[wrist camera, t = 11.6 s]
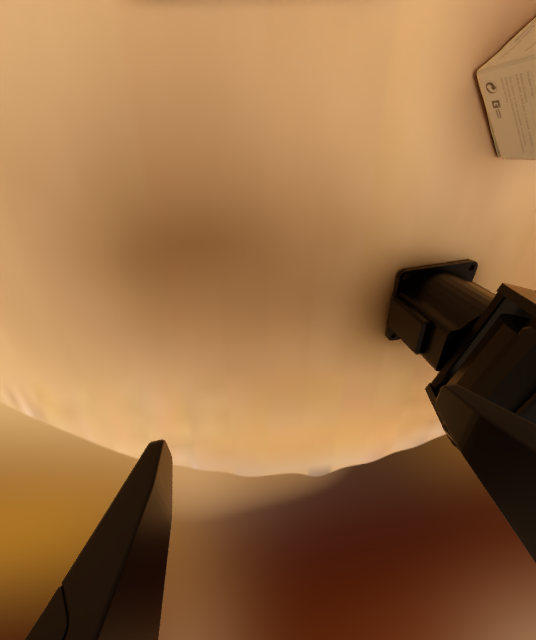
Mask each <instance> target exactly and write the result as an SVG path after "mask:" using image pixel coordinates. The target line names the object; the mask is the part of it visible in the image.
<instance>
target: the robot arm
mask: <svg viewBox="0 0 536 640" xmlns="http://www.w3.org/2000/svg"><path fill="white" fill-rule="evenodd" d="M477 266H478V264H477V262H475V261H473V260H465V261H457V262H450V263H443V264H436V265H429V266H422V267H415V268H408V269H402V270H401V271H399V272H398V274H397V276H396V282H395V287H394V292H393V297H392V299H391V304H390V309H389V314H388V320H387V329H386V334H385V336H386V337H387V338H388V339H389V340H398V339H401V340H402V341H403V342H404V343H405V344H406V345H407V346H408V347H409V348H410V349H411V350H412V351H413V352H414V353H415V354H416V355H417V354H421V355H422V356H423V357H424V358H425V360H426V361H427V362H428V363H429V364H430V365H431V366H432V367H433V368H434V369H435V370H436V371H440V372H439V373H438V374H437V376H436V377H435V378H434V380H433V381H432V383H429V384H428V386H427V387H426V388H425V390H426V392H427V394H428V397H429V399H430V401H431V403H432V405H433V407H434V409H435V411H436V414H437V416H438V418H439V420H440V422H441V424H442V427H443V430H444V431H445V433H446V434H447V436H448V438H449V439H450V440H451V442H452V444H453V445H454V446H455V447H457V448H458V449H459V450H460V451H461V453H462V455H463V456H464V458H465V459H466V461H467V462H468V464H469V465H470V466H471V468H472V470H473V471H474V473H475V474H476V475H477V477H478V478H479V480H480V481H481V483H482V484H483V486H484V487H485V489H486V490H487V492H488V493H489V495H490V496H491V498H492V499H493V501H494V502H495V503H496V505H497V506H498V508H499V509H500V511H501V512H502V514H503V515H504V517H505V518H506V520H507V521H508V523H509V524H510V526H511V527H512V528H513V530H514V532H515V533H516V535H517V536H518V537H519V539H520V540H521V542H522V543H523V545H524V546H525V547H526V549H527V551H528V552H529V554H530V555H531V556H532V558H533V560H534V561H535V563H536V291H534V290H530V289H526V288H522V287H518V286H514V285H510V284H506V283H502V284H501V286H500V287H499V288H498V290H497V292H498V293H497V294H496V295H495V294H494V293H492V292H490V291H488V290H487V289H485V288H483V287H481V286H479V285H478V284H476V283H474V282H472V281H473V278H474V275H475V272H476V269H477ZM405 274H406V275H405ZM404 275H405V277H404V278H403V276H404ZM171 521H172V456H171V453H170V451H169V448H168V446H167V443H166V441H165V440H157V441H152V442H150V443H149V444H148V446H147V447H146V449H145V451H144V452H143V454H142V455H141V457H140V459H139V460H138V462H137V464H136V465H135V467H134V468H133V470H132V471H131V473H130V475H129V476H128V478H127V479H126V481H125V482H124V484H123V486H122V487H121V489H120V491H119V492H118V494H117V495H116V497H115V498H114V500H113V502H112V503H111V505H110V507H109V508H108V510H107V511H106V513H105V514H104V516H103V518H102V519H101V521H100V522H99V524H98V526H97V527H96V529H95V530H94V532H93V534H92V535H91V537H90V538H89V540H88V542H87V543H86V545H85V546H84V548H83V550H82V551H81V553H80V554H79V556H78V557H77V559H76V561H75V562H74V564H73V565H72V567H71V569H70V570H69V572H68V574H67V575H66V577H65V578H64V580H63V581H62V586H59V588H58V589H57V591H56V592H55V594H54V596H53V597H52V599H51V600H50V602H49V603H48V605H47V607H46V608H45V610H44V611H43V613H42V614H41V616H40V618H39V619H38V621H37V622H36V624H35V625H34V627H33V628H32V630H31V631H30V633H29V635H28V636H27V638H26V639H25V640H158V636H159V627H160V619H161V609H162V601H163V592H164V583H165V575H166V566H167V557H168V548H169V539H170V530H171Z"/></svg>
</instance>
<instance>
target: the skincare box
mask: <svg viewBox="0 0 536 640" xmlns="http://www.w3.org/2000/svg"><path fill="white" fill-rule="evenodd" d="M477 80H478V84H479V87H480V91H481V94H482V96H483V100H484V103H485V107H486V111H487V115H488V120H489V124H490V129H491V133H492V136H493V140H494V144H495V147H496V152H497V154H498V156H500V157H502V158H503V159H521V160H536V17H535V18H534V19H533V20H532V21H531V22H530V23H529V24H528V25H527V26H525V27H524V28H523V29H522V30H521V31H520V32H519V33H518V34H517V35H516V36H515V37H514V38H513V39H512V40H511V41H509V42H508V43H507V44H506V45H505V46H504V47H503V48H502V49H501V50H500V51H499V52H498V53H497V54H496V55H495V56H494V57H492V58H491V59H490V60H489V61H488V62H487V63H486V64H484V65H483V66H482V67H481V68H480V69H478V71H477Z"/></svg>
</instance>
